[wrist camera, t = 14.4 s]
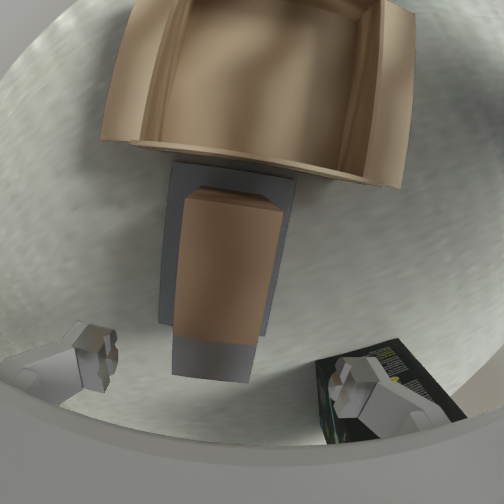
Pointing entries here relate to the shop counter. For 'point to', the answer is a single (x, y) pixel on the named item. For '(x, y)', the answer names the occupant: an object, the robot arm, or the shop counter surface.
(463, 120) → the shop counter surface
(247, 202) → the walnut box
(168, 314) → the mat
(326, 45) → the carton
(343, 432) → the tampon box
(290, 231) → the shop counter surface
